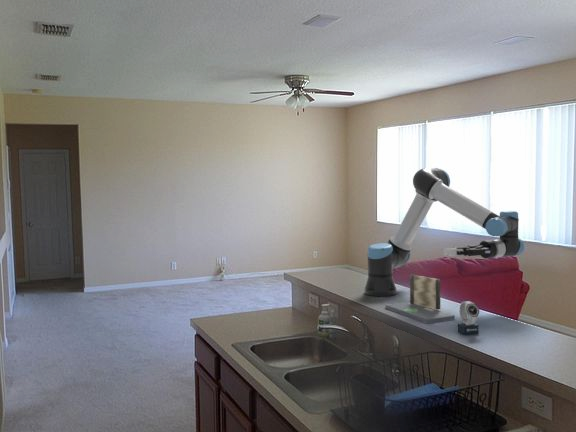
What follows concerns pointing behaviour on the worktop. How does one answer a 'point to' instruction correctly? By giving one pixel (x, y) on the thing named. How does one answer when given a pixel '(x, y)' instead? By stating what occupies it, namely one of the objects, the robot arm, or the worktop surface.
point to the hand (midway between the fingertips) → (446, 252)
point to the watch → (472, 313)
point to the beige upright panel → (425, 291)
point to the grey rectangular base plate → (420, 312)
